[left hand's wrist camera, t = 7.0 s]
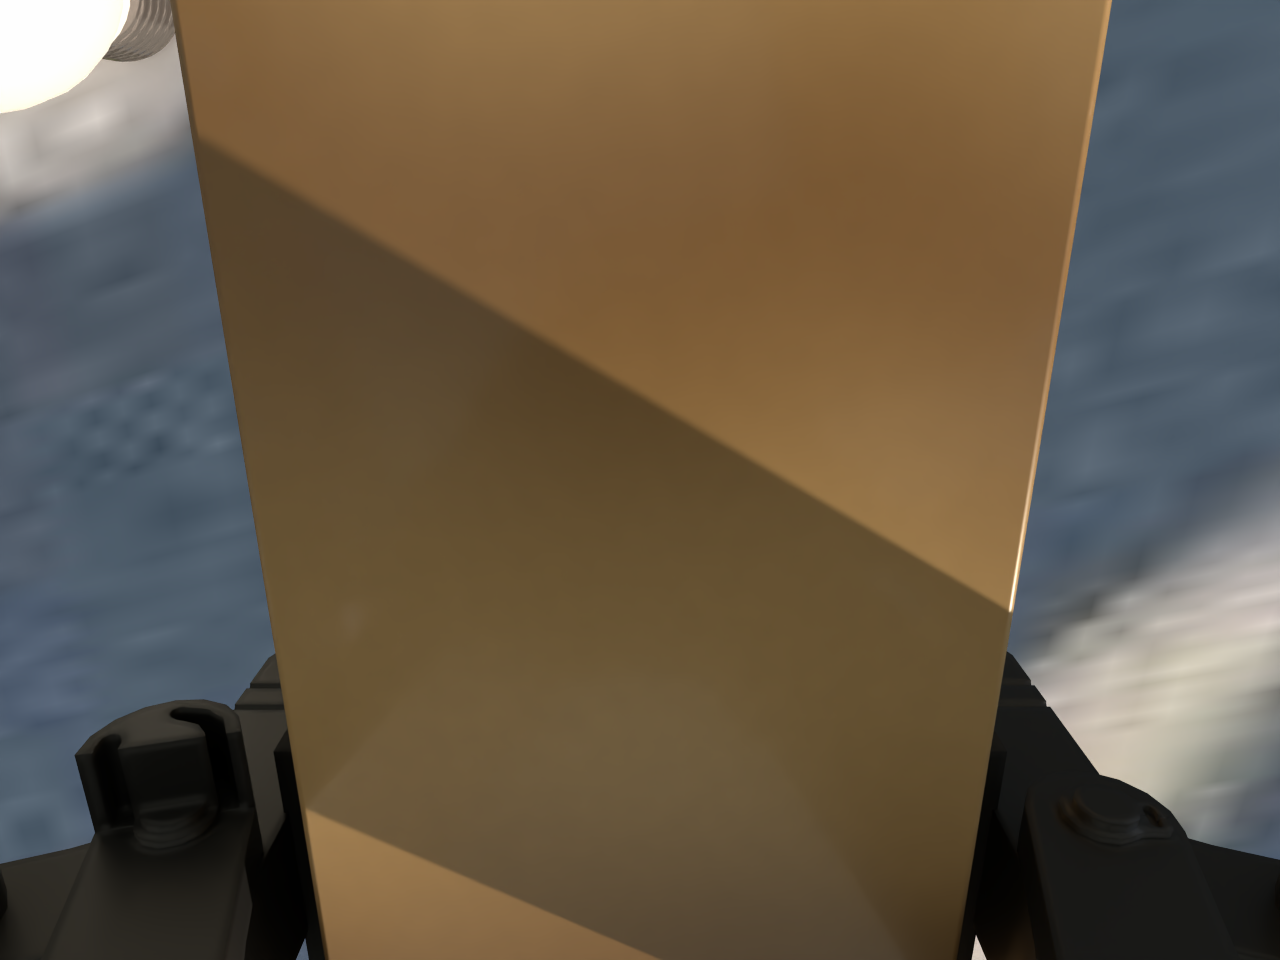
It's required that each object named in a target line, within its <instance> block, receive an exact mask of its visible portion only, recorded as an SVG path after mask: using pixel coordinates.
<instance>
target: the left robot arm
mask: <svg viewBox="0 0 1280 960" xmlns="http://www.w3.org/2000/svg"><path fill="white" fill-rule="evenodd" d="M75 758H76V762H77V766H78V770H79V774H80V777H81V781H82V785H83V789H84V792H85V796H86V800H87V804H88V807H89V811H90V815H91V819H92V823H93V826H94V830H95V834H94V837H93V839H92V841H91V843H88V844H84V845H81V846H77V847H74V848H70V849H66V850H62V851H57V852H52V853H48V854H43V855H39V856H34V857H30V858H25V859H21V860H16V861H12V862H7V863H2V864H0V960H296V958H297V956H298V953H299V951H300V949H301V946H302V944H303V942H304V939H306V945H307V951H308V956H309V960H325V956H324V950H323V943H322V937H321V931H320V925H319V919H318V912H317V906H316V900H315V894H314V888H313V881H312V875H311V869H310V863H309V857H308V851H307V844H306V838H305V832H304V826H303V820H302V813H301V807H300V801H299V795H298V789H297V783H296V776H295V770H294V764H293V758H292V752H291V745H290V739H289V733H288V727H287V721H286V714H285V708H284V702H283V696H282V690H281V684H280V677H279V671H278V665H277V659H276V653H275V654H274V655H272V656H271V657H270V658H268V660H267V661H266V662H265V664H264V665H263V666H262V668H261V669H260V671H259V672H258V673H257V675H256V676H255V678H254V679H253V680H252V682H251V683H250V688H247V689H246V690H245V691H244V693H243V694H242V696H241V697H240V698H239V700H238V701H237V702H236V704H235V710H232V709H231V708H229V707H228V706H227V705H225V704H221V703H217V702H213V701H208V700H204V699H203V700H175V701H171V702H167V703H162V704H158V705H154V706H149V707H145V708H142V709H140V710H138V711H135V712H133V713H130V714H128V715H126V716H123V717H121V718H118V719H116V720H114V721H113V722H111V723H110V724H108V725H107V726H105V727H104V728H102V729H101V730H99V731H98V732H96V733H95V734H93V735H92V736H90V737H89V739H88V740H87V741H86V742H85V743H84V745H83V746H82V747H81V748H80V749H79V751H78V752H77V753H76V754H75ZM976 936H977V938H978V940H979V943H980V945H981V947H982V950H983V952H984V955H985V957H986V959H987V960H1280V860H1278V859H1273V858H1269V857H1264V856H1259V855H1255V854H1250V853H1246V852H1241V851H1237V850H1232V849H1227V848H1223V847H1218V846H1214V845H1210V844H1206V843H1203V842H1199V841H1196V840H1192V839H1189V838H1188V837H1187V835H1186V833H1185V831H1184V829H1183V828H1182V827H1181V825H1180V824H1179V822H1178V821H1177V820H1176V818H1175V817H1174V815H1173V814H1172V813H1171V811H1169V810H1168V809H1167V808H1166V807H1164V806H1163V805H1162V804H1160V803H1159V802H1158V801H1157V800H1155V799H1154V798H1153V797H1151V796H1150V795H1149V794H1147V793H1145V792H1143V791H1141V790H1139V789H1137V788H1135V787H1133V786H1131V785H1129V784H1127V783H1125V782H1122V781H1120V780H1118V779H1114V778H1110V777H1106V776H1102V775H1099V773H1098V772H1097V770H1096V769H1095V768H1094V766H1093V765H1092V764H1091V762H1090V761H1089V759H1088V758H1087V757H1086V755H1085V754H1084V753H1083V751H1082V750H1081V748H1080V747H1079V746H1078V744H1077V743H1076V742H1075V740H1074V739H1073V738H1072V736H1071V735H1070V733H1069V732H1068V731H1067V729H1066V728H1065V727H1064V725H1063V724H1062V722H1061V721H1060V720H1059V718H1058V717H1057V716H1056V714H1055V713H1054V711H1053V710H1052V709H1051V707H1047V706H1046V700H1045V699H1044V698H1043V696H1042V695H1041V694H1040V692H1039V691H1038V690H1037V688H1036V687H1035V685H1031V680H1030V679H1029V677H1028V676H1027V674H1026V673H1025V672H1024V670H1023V669H1022V668H1021V666H1020V665H1019V663H1018V662H1017V661H1016V659H1015V658H1014V657H1013V655H1011V654H1010V653H1008V652H1006V658H1005V664H1004V670H1003V676H1002V682H1001V689H1000V695H999V701H998V707H997V713H996V720H995V726H994V732H993V738H992V744H991V751H990V757H989V763H988V769H987V775H986V781H985V788H984V794H983V800H982V806H981V812H980V819H979V825H978V831H977V837H976V843H975V849H974V856H973V862H972V868H971V874H970V880H969V887H968V893H967V899H966V905H965V911H964V917H963V924H962V930H961V936H960V942H959V948H958V955H957V960H972V954H973V948H974V942H975V937H976Z"/></svg>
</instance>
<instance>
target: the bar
mask: <svg viewBox="0 0 1280 960" xmlns="http://www.w3.org/2000/svg"><path fill="white" fill-rule="evenodd" d="M1111 2H1112V0H170V3H171V9H172V16H173V22H174V28H175V34H176V40H177V47H178V53H179V59H180V65H181V71H182V77H183V84H184V90H185V96H186V102H187V108H188V115H189V121H190V127H191V133H192V139H193V146H194V152H195V158H196V164H197V170H198V176H199V183H200V189H201V195H202V201H203V207H204V214H205V220H206V226H207V232H208V238H209V244H210V251H211V257H212V263H213V269H214V275H215V282H216V288H217V294H218V300H219V306H220V312H221V319H222V325H223V331H224V337H225V343H226V350H227V356H228V362H229V368H230V374H231V381H232V387H233V393H234V399H235V405H236V411H237V418H238V424H239V430H240V436H241V442H242V449H243V455H244V461H245V467H246V473H247V479H248V486H249V492H250V498H251V504H252V510H253V517H254V523H255V529H256V535H257V541H258V548H259V554H260V560H261V566H262V572H263V578H264V585H265V591H266V597H267V603H268V609H269V616H270V622H271V628H272V634H273V640H274V646H275V653H276V659H277V665H278V671H279V677H280V684H281V690H282V696H283V702H284V708H285V714H286V721H287V727H288V733H289V739H290V745H291V752H292V758H293V764H294V770H295V776H296V783H297V789H298V795H299V801H300V807H301V813H302V820H303V826H304V832H305V838H306V844H307V851H308V857H309V863H310V869H311V875H312V881H313V888H314V894H315V900H316V906H317V912H318V919H319V925H320V931H321V937H322V943H323V950H324V956H325V960H957V955H958V948H959V942H960V936H961V930H962V924H963V917H964V911H965V905H966V899H967V893H968V887H969V880H970V874H971V868H972V862H973V856H974V849H975V843H976V837H977V831H978V825H979V819H980V812H981V806H982V800H983V794H984V788H985V781H986V775H987V769H988V763H989V757H990V751H991V744H992V738H993V732H994V726H995V720H996V713H997V707H998V701H999V695H1000V689H1001V682H1002V676H1003V670H1004V664H1005V658H1006V652H1007V645H1008V639H1009V633H1010V627H1011V621H1012V614H1013V608H1014V602H1015V596H1016V590H1017V584H1018V577H1019V571H1020V565H1021V559H1022V553H1023V546H1024V540H1025V534H1026V528H1027V522H1028V516H1029V509H1030V503H1031V497H1032V491H1033V485H1034V478H1035V472H1036V466H1037V460H1038V454H1039V448H1040V441H1041V435H1042V429H1043V423H1044V417H1045V410H1046V404H1047V398H1048V392H1049V386H1050V380H1051V373H1052V367H1053V361H1054V355H1055V349H1056V342H1057V336H1058V330H1059V324H1060V318H1061V312H1062V305H1063V299H1064V293H1065V287H1066V281H1067V274H1068V268H1069V262H1070V256H1071V250H1072V244H1073V237H1074V231H1075V225H1076V219H1077V213H1078V206H1079V200H1080V194H1081V188H1082V182H1083V176H1084V169H1085V163H1086V157H1087V151H1088V145H1089V138H1090V132H1091V126H1092V120H1093V114H1094V108H1095V101H1096V95H1097V89H1098V83H1099V77H1100V70H1101V64H1102V58H1103V52H1104V46H1105V40H1106V33H1107V27H1108V21H1109V15H1110V9H1111Z"/></svg>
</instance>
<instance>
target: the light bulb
mask: <svg viewBox="0 0 1280 960" xmlns="http://www.w3.org/2000/svg"><path fill="white" fill-rule="evenodd" d="M174 34H175V28H174V22H173V16H172V9H171V3H170V0H0V113H5V112H11V111H17V110H23V109H27V108H30V107H32V106H35V105H37V104H40V103H42V102H45V101H47V100H49V99H52V98H54V97H56V96H59V95H61V94H63V93H66V92H68V91H69V90H70V89H71V88H73V87H74V86H75V85H77V84H78V83H79V82H81V81H82V80H83V79H85V78H86V77H87V76H88V75H89V74H90V72H91V71H92V70H93V69H94V68H95V66H96V65H97V64H98V63H99V61H100V60H101V59H107V60H113V61H137V60H141V59H144V58H147V57H150V56H152V55H154V54H155V53H157V52H158V51H160V50H161V49H163V48H164V47H165V46H166V45H167V43H168V42H169V41H170V40H171V38H172V37H173V35H174Z"/></svg>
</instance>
